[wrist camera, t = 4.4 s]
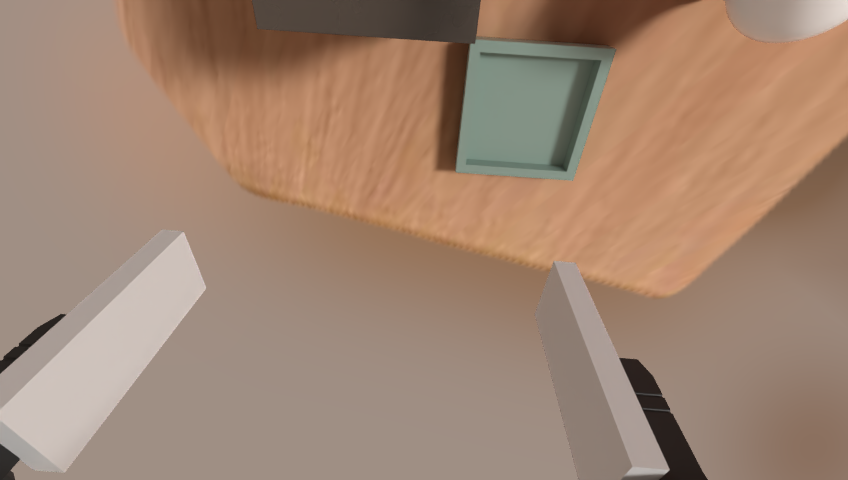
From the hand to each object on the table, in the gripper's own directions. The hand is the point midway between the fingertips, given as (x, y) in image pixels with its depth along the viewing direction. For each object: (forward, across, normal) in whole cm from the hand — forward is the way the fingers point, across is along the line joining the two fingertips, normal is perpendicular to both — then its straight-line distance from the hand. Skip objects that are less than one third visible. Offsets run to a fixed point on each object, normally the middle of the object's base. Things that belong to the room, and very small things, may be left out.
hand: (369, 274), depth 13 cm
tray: (+22, +10, 0) cm, 24 cm away
